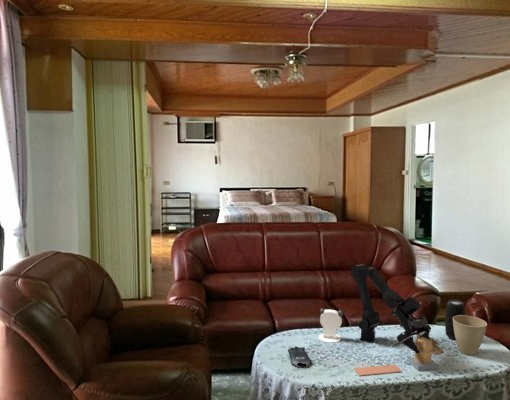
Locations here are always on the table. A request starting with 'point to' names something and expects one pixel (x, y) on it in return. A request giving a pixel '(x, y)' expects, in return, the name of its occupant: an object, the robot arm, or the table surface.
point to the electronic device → (298, 356)
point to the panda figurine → (330, 325)
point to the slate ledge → (422, 365)
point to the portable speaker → (452, 310)
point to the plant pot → (469, 333)
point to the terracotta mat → (377, 370)
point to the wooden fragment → (434, 346)
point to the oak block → (423, 350)
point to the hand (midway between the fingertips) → (424, 350)
